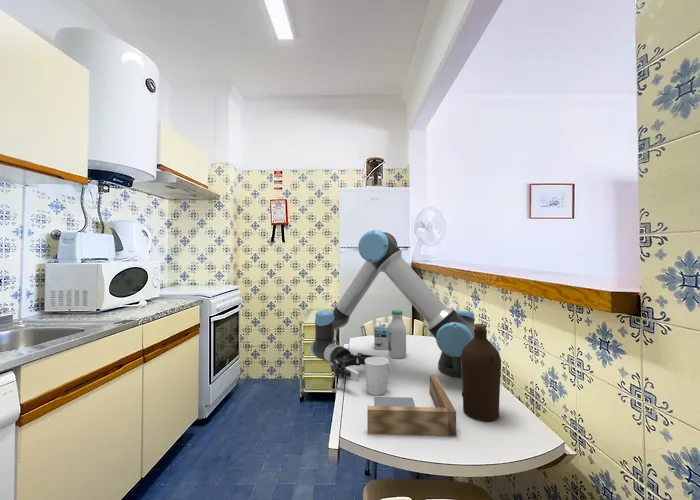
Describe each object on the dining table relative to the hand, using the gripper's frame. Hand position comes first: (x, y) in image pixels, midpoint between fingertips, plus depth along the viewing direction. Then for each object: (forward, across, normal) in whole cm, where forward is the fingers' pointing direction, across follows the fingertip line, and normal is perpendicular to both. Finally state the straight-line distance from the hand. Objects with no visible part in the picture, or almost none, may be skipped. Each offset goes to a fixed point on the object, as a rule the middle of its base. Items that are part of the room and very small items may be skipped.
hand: (374, 372), depth 106 cm
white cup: (+1, 0, -6) cm, 6 cm away
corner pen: (+16, +2, -6) cm, 17 cm away
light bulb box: (-35, -35, -6) cm, 50 cm away
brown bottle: (+29, -14, -6) cm, 33 cm away
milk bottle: (-21, -31, -6) cm, 38 cm away
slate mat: (+12, +3, -6) cm, 14 cm away
